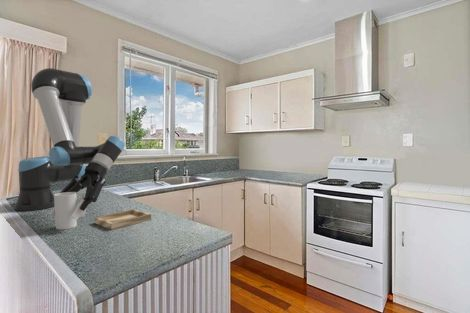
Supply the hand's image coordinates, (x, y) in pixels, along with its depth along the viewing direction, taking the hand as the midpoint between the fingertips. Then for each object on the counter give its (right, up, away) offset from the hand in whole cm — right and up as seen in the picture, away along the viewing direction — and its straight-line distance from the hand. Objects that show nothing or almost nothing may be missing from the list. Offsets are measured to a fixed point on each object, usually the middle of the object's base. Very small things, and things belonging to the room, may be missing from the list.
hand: (63, 216), depth 90 cm
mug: (+1, -4, +3) cm, 6 cm away
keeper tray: (+17, -4, +9) cm, 20 cm away
